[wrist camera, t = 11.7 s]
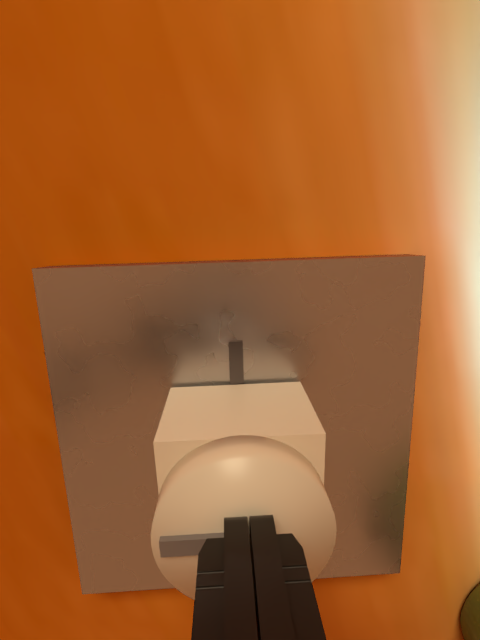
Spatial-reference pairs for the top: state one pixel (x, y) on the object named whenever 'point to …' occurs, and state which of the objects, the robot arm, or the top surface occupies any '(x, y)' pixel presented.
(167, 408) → the knob
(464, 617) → the plant pot
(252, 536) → the robot arm
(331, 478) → the block
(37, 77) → the top surface
